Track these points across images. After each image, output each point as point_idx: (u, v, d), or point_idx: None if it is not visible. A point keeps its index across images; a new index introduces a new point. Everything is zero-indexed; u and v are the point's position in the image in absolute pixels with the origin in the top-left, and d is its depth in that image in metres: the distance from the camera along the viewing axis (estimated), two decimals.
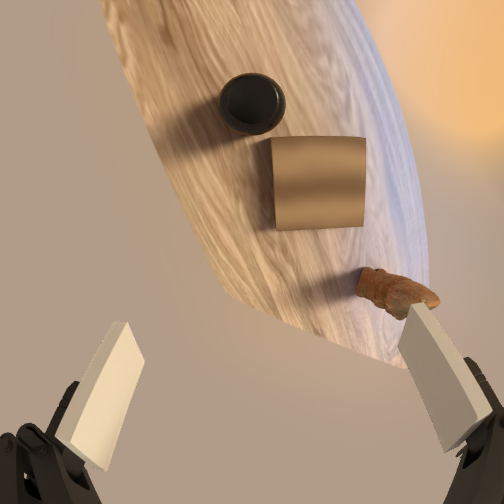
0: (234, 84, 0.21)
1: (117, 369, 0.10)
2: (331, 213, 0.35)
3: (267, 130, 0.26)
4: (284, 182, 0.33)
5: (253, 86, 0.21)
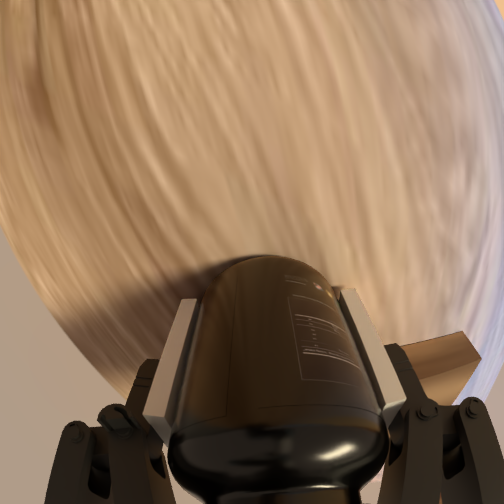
0: None
1: None
2: None
3: None
4: None
5: None
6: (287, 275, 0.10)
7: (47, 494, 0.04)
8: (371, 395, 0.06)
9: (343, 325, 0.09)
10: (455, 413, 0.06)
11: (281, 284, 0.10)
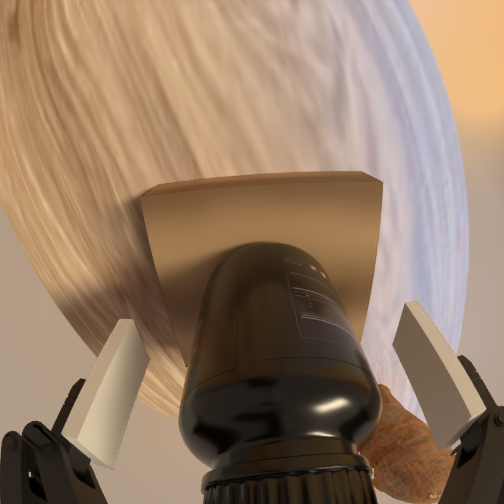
0: None
1: (123, 366, 0.10)
2: None
3: None
4: (183, 292, 0.15)
5: None
6: (285, 257, 0.12)
7: (1, 501, 0.02)
8: (363, 357, 0.08)
9: (336, 300, 0.10)
10: None
11: (279, 264, 0.11)
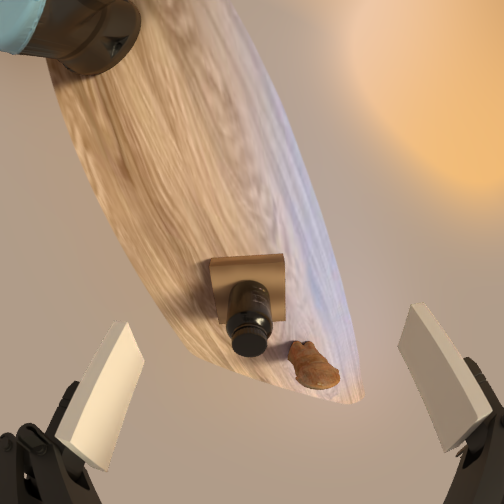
0: (237, 337, 0.35)
1: (117, 369, 0.10)
2: None
3: None
4: (221, 294, 0.46)
5: (250, 339, 0.35)
6: (252, 285, 0.43)
7: None
8: (266, 310, 0.39)
9: (264, 297, 0.42)
10: None
11: (250, 288, 0.42)
